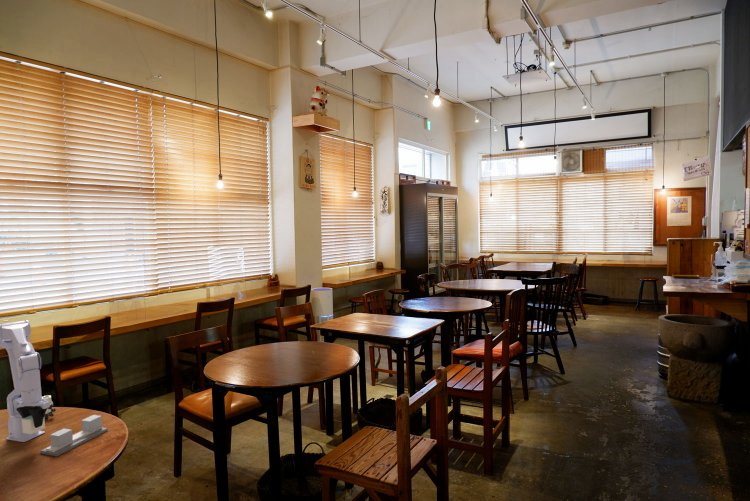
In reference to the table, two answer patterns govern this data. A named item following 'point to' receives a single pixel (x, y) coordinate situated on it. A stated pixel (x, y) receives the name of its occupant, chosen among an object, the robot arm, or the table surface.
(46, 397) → the valve
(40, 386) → the robot arm
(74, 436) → the board
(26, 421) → the cream module
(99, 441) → the table surface
